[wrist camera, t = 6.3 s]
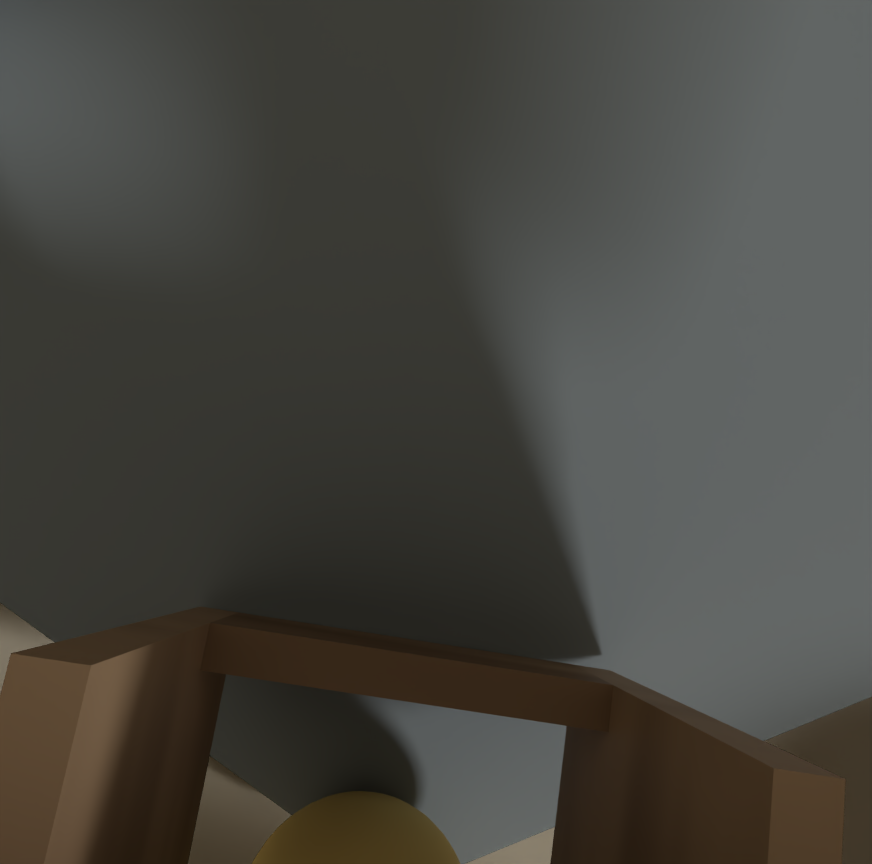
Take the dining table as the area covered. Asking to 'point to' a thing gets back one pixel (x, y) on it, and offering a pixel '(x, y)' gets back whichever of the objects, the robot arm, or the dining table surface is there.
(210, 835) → the dining table surface
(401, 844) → the ball
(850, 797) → the dining table surface
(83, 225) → the tray mat
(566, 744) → the box
